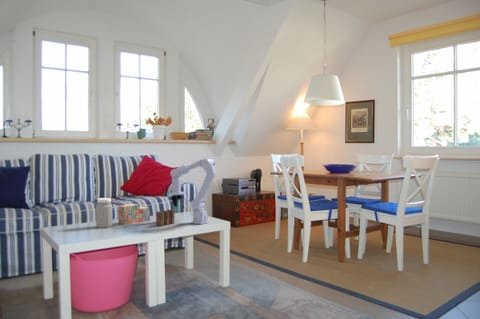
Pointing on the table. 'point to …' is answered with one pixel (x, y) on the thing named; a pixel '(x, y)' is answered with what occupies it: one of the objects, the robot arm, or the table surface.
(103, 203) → the jar
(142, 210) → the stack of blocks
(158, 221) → the domino
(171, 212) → the domino
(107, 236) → the table surface
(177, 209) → the domino
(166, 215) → the domino
